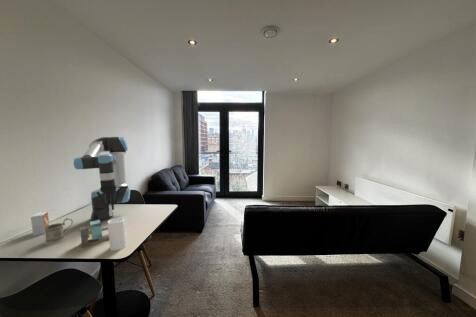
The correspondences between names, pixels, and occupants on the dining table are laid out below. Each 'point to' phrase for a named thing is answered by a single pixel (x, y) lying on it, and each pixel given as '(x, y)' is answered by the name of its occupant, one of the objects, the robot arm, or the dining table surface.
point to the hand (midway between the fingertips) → (111, 215)
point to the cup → (117, 233)
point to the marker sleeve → (96, 229)
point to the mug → (55, 233)
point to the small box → (39, 223)
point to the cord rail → (85, 242)
